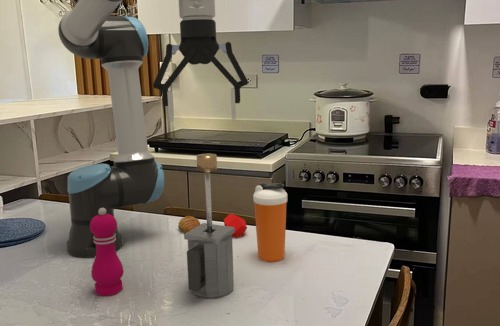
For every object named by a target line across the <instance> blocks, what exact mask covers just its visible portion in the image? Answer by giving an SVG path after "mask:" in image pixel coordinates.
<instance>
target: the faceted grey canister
mask: <svg viewBox="0 0 500 326" xmlns="http://www.w3.org/2000/svg"><path fill="white" fill-rule="evenodd" d="M200 224H201V225H199V226H197V227H196V228H194V229H192V230H190V231H189V232H187V233H185V234H184V233H183V239H184V240H187V251H186V260H187V261H186V263H187V265H186V266H187V284H188V291H190V293H191V294H192V295H193V296H195V297H197V298H201V299H210V300H211V299H220V298H224V297H226V296H229V295H230V294H231V293H232V292H233V291H234V289H235V288H234V286H235V281H234V256H233V255H234V253H233V248H234V247H233V237H232V234H233V233H234V232H235V227H229V226H224V225H221V224H220V225H219V224H213V223H212V233H208V232H207V222H206V223H205V222H202V223H200Z"/></svg>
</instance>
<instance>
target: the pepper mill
mask: <svg viewBox="0 0 500 326" xmlns="http://www.w3.org/2000/svg"><path fill="white" fill-rule="evenodd" d="M98 213H99V215H96V216H95V217H94V218H93V219H92V220H91V222H90V230H91V232H92V233H93V234H94V236H93V239H94V241H93V242H94V243H95V244H96V257H94V261H93V263H92V266H91V267H92V268H91V278H92V279H91V280H93V281H94V282H95V284H94V292H95V294H96V295H98V296H105V297H107V296H115V295H116V294H118V293H119V294H120V292H122V290H123V288H124V286H123V284H124V283H123V280H122V277H123V275H124V267H123V266H124V265H123V263H122V260H120V258H119V256H118V254H117V251H115V246H114V241H115V240H116V237H115V236H116V234H115V233H114V232H115V231H116V229H117V227H118V221H117V218H116V217H115V216H114V217H113V216H112V215H110V214H106V209H105V208H100V209H99V211H98Z"/></svg>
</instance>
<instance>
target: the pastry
mask: <svg viewBox="0 0 500 326" xmlns="http://www.w3.org/2000/svg"><path fill="white" fill-rule="evenodd" d="M201 224H202V223H201V222H200V220H199V219H198V218H196V217H194V216H191V215H186V216H184V217H182V218H181V219H180V220H179V222H178V225H177V228H178V230H179V231H180V232H181V233H182V232H183V235H184V234H185V233H187V232H189V231H190V230H192V229H194V228H196V227H197V226H199V225H201Z"/></svg>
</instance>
